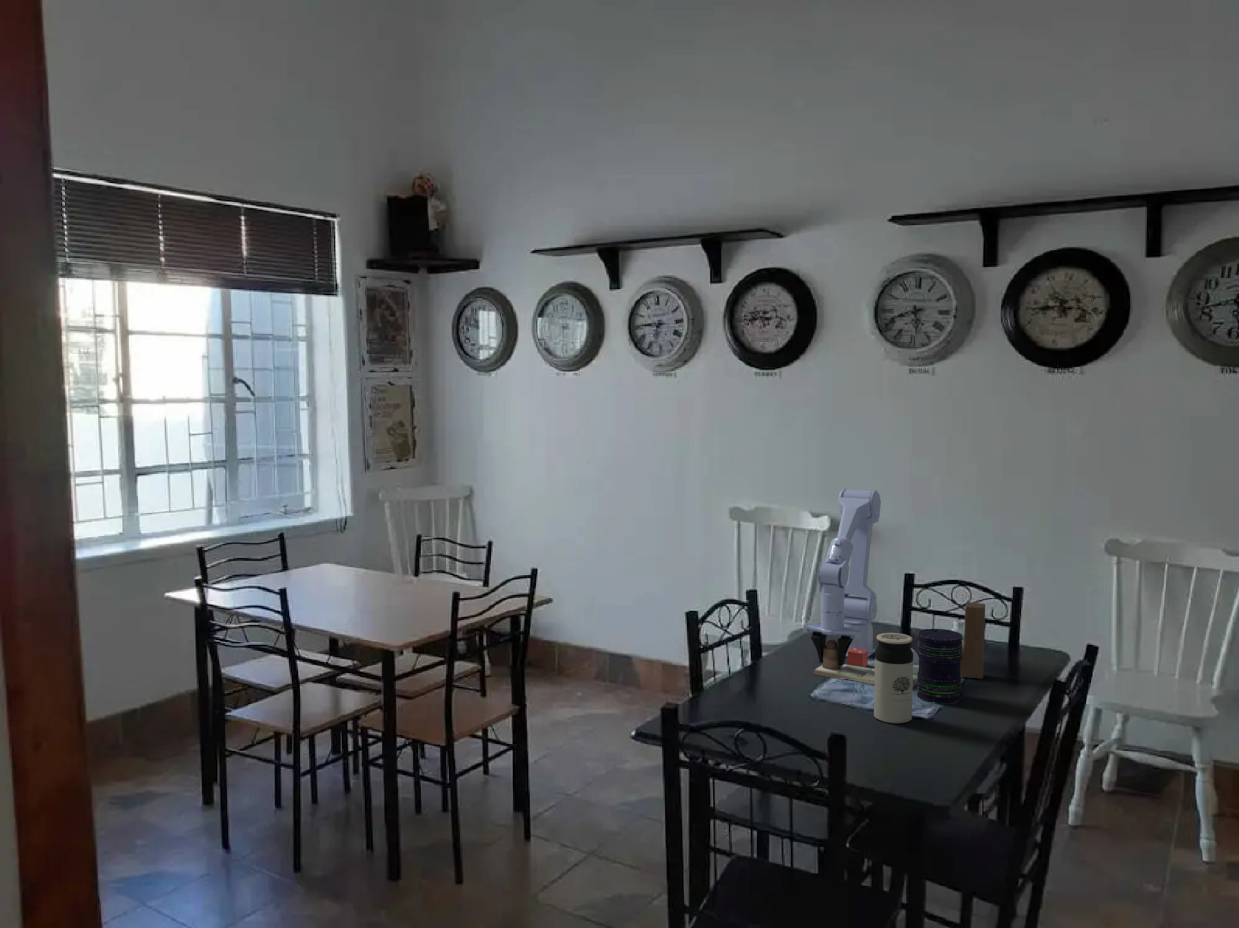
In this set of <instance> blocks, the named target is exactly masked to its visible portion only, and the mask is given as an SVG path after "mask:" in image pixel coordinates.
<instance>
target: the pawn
mask: <svg viewBox="0 0 1239 928" xmlns="http://www.w3.org/2000/svg"><path fill="white" fill-rule="evenodd" d="M838 661H839V649H838V642H837V641H836V640H835V639H829V640H828V641H826V645H825V646H824V647H823V663H822V664H823V668H825V669H830V670H837V669H840V668H841V666H839V663H838Z"/></svg>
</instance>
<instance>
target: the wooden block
mask: <svg viewBox="0 0 1239 928" xmlns="http://www.w3.org/2000/svg"><path fill="white" fill-rule="evenodd" d="M985 625H986V604H985V603H978V602H966V603H965V607H964V637H963V638H964V639H963V640H964V642H963V645H962V660H961V663H960V675H961V676H962V677H961V678H965V677H967V679H974V678H977V679H976V680H983V679H984V669H985V668H984V664H985V661H984V660H985V659H984V658H985V627H986V626H985Z"/></svg>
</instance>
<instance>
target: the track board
mask: <svg viewBox="0 0 1239 928" xmlns="http://www.w3.org/2000/svg"><path fill="white" fill-rule="evenodd" d="M813 675H815V676H819V677H826V678H832V679H838V678H844V679H849V680H848V681H850V680H854V681H853V682H856V681H858V683H862V682H863V683H864V684H869V685H874V684H875V668H872V667H871V668H870V667H859V666H852V665H847V663H844V665H842V666H841V668H840V669H837V670H830V669H825V668H823V663H821V665H820V666H818V667H816V668H815V669H814V670H813ZM844 679H843V680H844ZM917 679H918V678H917V676H916V675H913V687H912V689H913V688H914V687H916V686H917ZM863 683H862V684H863Z"/></svg>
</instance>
